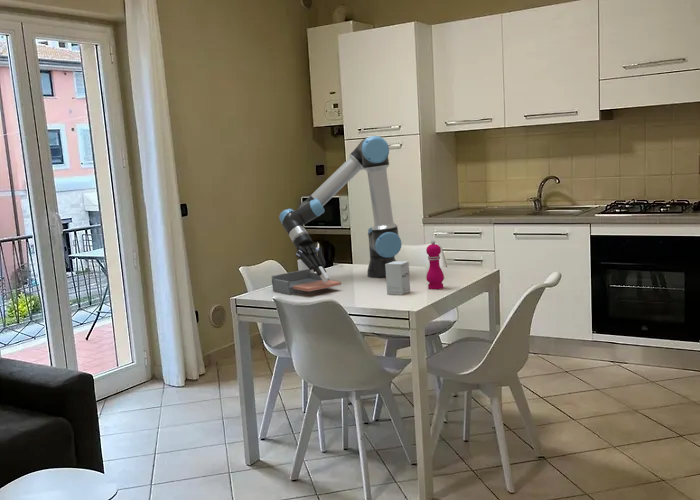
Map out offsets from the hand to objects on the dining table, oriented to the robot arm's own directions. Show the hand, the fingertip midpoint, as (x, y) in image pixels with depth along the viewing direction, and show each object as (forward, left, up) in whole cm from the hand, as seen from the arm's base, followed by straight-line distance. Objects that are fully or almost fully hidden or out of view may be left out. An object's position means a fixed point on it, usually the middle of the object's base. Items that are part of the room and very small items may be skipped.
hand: (326, 280), depth 295 cm
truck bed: (+14, -14, -6) cm, 21 cm away
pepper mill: (-45, -2, -6) cm, 46 cm away
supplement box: (-30, +4, -6) cm, 31 cm away
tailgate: (+10, -10, -3) cm, 14 cm away
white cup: (+16, -37, -6) cm, 40 cm away
